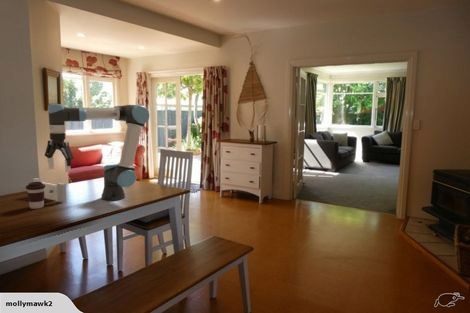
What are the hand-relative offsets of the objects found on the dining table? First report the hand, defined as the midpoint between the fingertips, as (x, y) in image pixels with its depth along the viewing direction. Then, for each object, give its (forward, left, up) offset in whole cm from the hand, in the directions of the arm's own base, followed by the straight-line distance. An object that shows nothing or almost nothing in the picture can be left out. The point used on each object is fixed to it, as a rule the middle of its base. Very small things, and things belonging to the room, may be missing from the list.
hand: (59, 170), depth 182 cm
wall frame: (-16, -34, -26) cm, 45 cm away
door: (-15, -35, -25) cm, 45 cm away
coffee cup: (-1, -24, -26) cm, 35 cm away
